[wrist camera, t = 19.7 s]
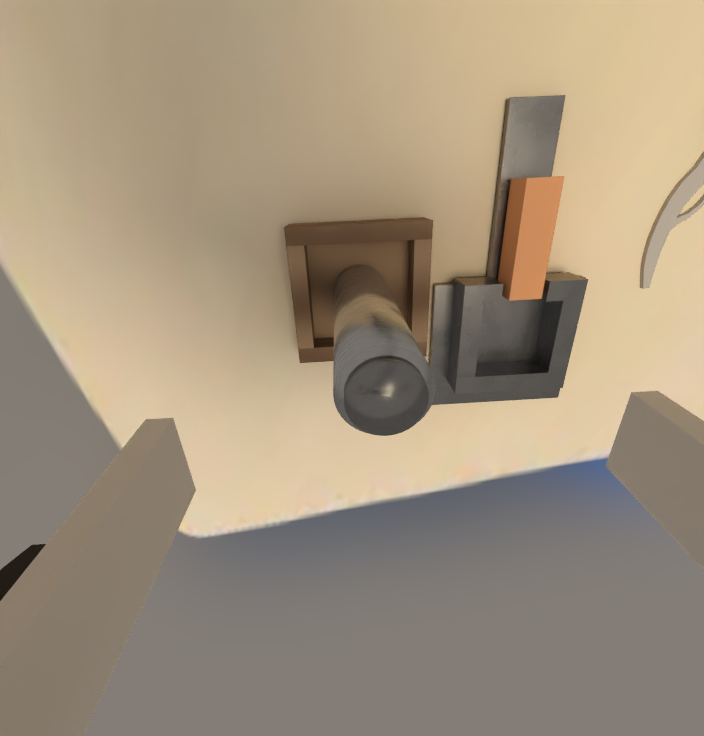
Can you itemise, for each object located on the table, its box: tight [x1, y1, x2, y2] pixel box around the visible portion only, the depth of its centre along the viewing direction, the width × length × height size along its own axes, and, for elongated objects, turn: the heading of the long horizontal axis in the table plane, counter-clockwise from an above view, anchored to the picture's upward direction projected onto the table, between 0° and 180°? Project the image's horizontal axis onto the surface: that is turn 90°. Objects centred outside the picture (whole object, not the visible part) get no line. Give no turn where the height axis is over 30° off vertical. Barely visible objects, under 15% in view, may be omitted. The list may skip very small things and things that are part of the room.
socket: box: [429, 95, 588, 405], centre depth 28 cm, size 23×12×3 cm, turn 3°
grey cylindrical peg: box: [333, 264, 436, 436], centre depth 21 cm, size 4×4×17 cm
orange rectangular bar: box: [498, 176, 564, 301], centre depth 26 cm, size 8×2×2 cm, turn 2°
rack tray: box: [284, 217, 433, 363], centre depth 28 cm, size 10×10×3 cm
